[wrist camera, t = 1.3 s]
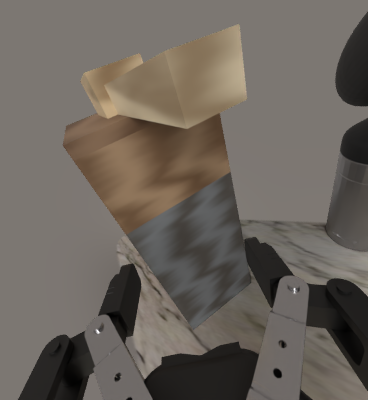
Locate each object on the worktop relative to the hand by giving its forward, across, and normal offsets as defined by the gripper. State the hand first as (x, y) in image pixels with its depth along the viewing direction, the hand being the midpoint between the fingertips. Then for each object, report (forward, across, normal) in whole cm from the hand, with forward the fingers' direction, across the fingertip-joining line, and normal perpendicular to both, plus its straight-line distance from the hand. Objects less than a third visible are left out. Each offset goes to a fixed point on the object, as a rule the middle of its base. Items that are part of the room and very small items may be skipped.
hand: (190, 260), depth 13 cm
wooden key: (+7, +1, -10) cm, 12 cm away
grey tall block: (+19, 0, +21) cm, 28 cm away
